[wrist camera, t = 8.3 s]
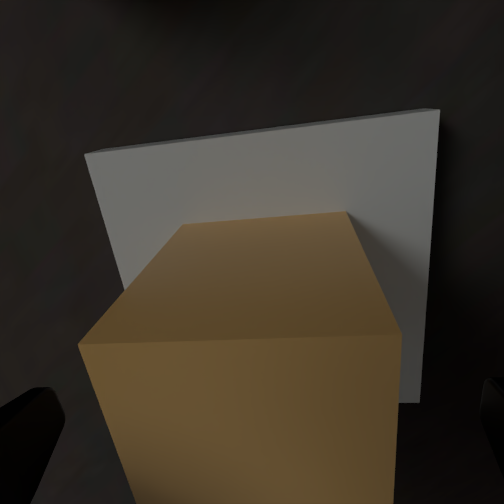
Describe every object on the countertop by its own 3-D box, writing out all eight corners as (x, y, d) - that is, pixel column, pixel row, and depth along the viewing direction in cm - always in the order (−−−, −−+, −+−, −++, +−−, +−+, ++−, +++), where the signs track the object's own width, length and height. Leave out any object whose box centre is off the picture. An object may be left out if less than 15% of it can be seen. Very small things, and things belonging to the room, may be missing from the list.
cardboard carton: (347, 349, 12) (390, 546, 7) (208, 352, 13) (148, 535, 8) (345, 211, 11) (401, 334, 5) (182, 224, 11) (77, 344, 6)
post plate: (410, 379, 14) (477, 543, 9) (168, 384, 16) (106, 527, 10) (424, 108, 10) (557, 119, 5) (103, 149, 12) (-47, 189, 7)
